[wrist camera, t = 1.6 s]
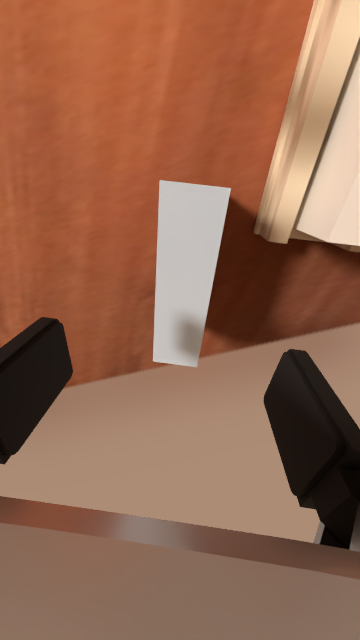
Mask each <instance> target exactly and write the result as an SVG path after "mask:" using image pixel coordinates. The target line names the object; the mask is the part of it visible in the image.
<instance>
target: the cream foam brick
mask: <svg viewBox="0 0 360 640" xmlns="http://www.w3.org/2000/svg"><path fill="white" fill-rule="evenodd" d="M293 228H295V229H297V230H300V231H302V232H304V233H307V234H309V235H312V236H314V237H316V238H319V239H321V240H323V241H326V242H331V243H340V244H348V245H357V246H360V37H359V40H358V43H357V46H356V49H355V51H354V54H353V57H352V60H351V63H350V66H349V68H348V71H347V74H346V77H345V80H344V83H343V85H342V88H341V91H340V94H339V97H338V100H337V103H336V105H335V108H334V111H333V114H332V117H331V120H330V122H329V125H328V128H327V131H326V134H325V137H324V139H323V142H322V145H321V148H320V151H319V154H318V157H317V159H316V162H315V165H314V168H313V171H312V174H311V176H310V179H309V182H308V185H307V188H306V191H305V193H304V196H303V199H302V202H301V205H300V208H299V211H298V213H297V216H296V219H295V222H294V225H293Z"/></svg>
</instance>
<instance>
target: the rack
mask: <svg viewBox="0 0 360 640" xmlns="http://www.w3.org/2000/svg"><path fill="white" fill-rule="evenodd" d="M359 37H360V0H314V3H313V7H312V10H311V14H310V18H309V22H308V26H307V29H306V33H305V37H304V41H303V45H302V48H301V52H300V56H299V60H298V64H297V67H296V71H295V75H294V79H293V83H292V86H291V90H290V94H289V98H288V102H287V105H286V109H285V113H284V117H283V121H282V124H281V128H280V132H279V136H278V140H277V143H276V147H275V151H274V155H273V159H272V162H271V166H270V170H269V174H268V178H267V181H266V185H265V189H264V193H263V197H262V201H261V204H260V208H259V212H258V216H257V220H256V223H255V227H254V231H253V232H254V233H255V234H259V235H260V236H262V237H263V238H264V239H265V240H267V241H268V242H276V243H284V244H287V242H288V239H289V238H294V239H302V240H311V241H319V242H326V241H323V240H321V239H319V238H316V237H314V236H312V235H309V234H307V233H304V232H302V231H300V230H297V229H295V228H293V225H294V222H295V219H296V216H297V213H298V211H299V208H300V205H301V202H302V199H303V196H304V193H305V191H306V188H307V185H308V182H309V179H310V176H311V174H312V171H313V168H314V165H315V162H316V159H317V157H318V154H319V151H320V148H321V145H322V142H323V139H324V137H325V134H326V131H327V128H328V125H329V122H330V120H331V117H332V114H333V111H334V108H335V105H336V103H337V100H338V97H339V94H340V91H341V88H342V85H343V83H344V80H345V77H346V74H347V71H348V68H349V66H350V63H351V60H352V57H353V54H354V51H355V49H356V46H357V43H358V40H359ZM328 243H330V244H333V245H335V246H338V247H340V248H342V249H345V250H347V251H352V252H360V246H357V245H348V244H340V243H331V242H328Z"/></svg>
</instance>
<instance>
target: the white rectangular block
mask: <svg viewBox="0 0 360 640" xmlns="http://www.w3.org/2000/svg"><path fill="white" fill-rule="evenodd" d="M230 191H231V188H224V187H215V186H206V185H197V184H189V183H180V182H171V181H162V180H160V186H159V213H158V240H157V266H156V293H155V320H154V346H153V361H155V362H162V363H170V364H177V365H185V366H192V367H197V364H198V359H199V353H200V348H201V343H202V338H203V332H204V327H205V322H206V317H207V311H208V306H209V301H210V296H211V290H212V285H213V280H214V275H215V269H216V264H217V259H218V254H219V248H220V243H221V238H222V233H223V227H224V222H225V217H226V212H227V206H228V201H229V196H230Z"/></svg>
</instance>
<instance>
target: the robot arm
mask: <svg viewBox="0 0 360 640" xmlns="http://www.w3.org/2000/svg"><path fill="white" fill-rule="evenodd" d="M72 373H73V369H72V364H71V359H70V355H69V350H68V346H67V341H66V337H65V332H64V328H63V324H62V323H60V322H59V320H57V319H53V318H45V317H42V318H40V319H38V320H37V321H36V322H34V323H33V324H32V325H30V326H29V327H28V328H26V329H25V330H24V331H22V332H21V333H20V334H18V335H17V336H16V337H15V338H13V339H12V340H11V341H9V342H8V343H7V344H5V345H4V346H3V347H1V348H0V464H5V463H6V462H7V460H8V459H9V458H10V456H11V455H14V454H16V452H18V451H19V449H20V448H21V446H22V445H23V444H24V442H25V441H26V439H27V438H28V437H29V435H30V434H31V432H32V431H33V429H34V428H35V427H36V426H37V424H38V423H39V421H40V420H41V419H42V417H43V416H44V414H45V413H46V412H47V410H48V409H49V407H50V406H51V405H52V403H53V402H54V400H55V399H56V398H57V396H58V395H59V393H60V392H61V391H62V389H63V388H64V386H65V385H66V384H67V382H68V381H69V379H70V378H71V376H72ZM264 405H265V408H266V411H267V414H268V418H269V421H270V424H271V428H272V431H273V434H274V437H275V440H276V444H277V447H278V450H279V453H280V456H281V460H282V463H283V466H284V470H285V473H286V476H287V479H288V483H289V486H290V489H291V491H292V493H293V494H294V495H295V496H297V499H298V502H299V505H300V507H304V508H311V509H316V510H317V513H318V516H319V518H320V522H319V526H318V529H317V532H316V536H315V539H314V543H308V542H302V541H297V540H291V539H285V538H279V537H272V536H266V535H258V534H253V533H246V532H239V531H233V530H227V529H220V528H213V527H207V526H200V525H194V524H187V523H181V522H174V521H167V520H160V519H154V518H146V517H140V516H133V515H126V514H120V513H113V512H106V511H99V510H93V509H86V508H79V507H72V506H65V505H58V504H51V503H44V502H37V501H30V500H23V499H16V498H8V497H2V496H0V640H360V429H359V427H358V426H357V424H356V423H355V422H354V420H353V419H352V417H351V416H350V414H349V413H348V411H347V410H346V409H345V407H344V406H343V404H342V403H341V401H340V400H339V398H338V397H337V395H336V394H335V392H334V391H333V389H332V388H331V387H330V385H329V384H328V382H327V381H326V379H325V378H324V376H323V375H322V373H321V372H320V371H319V369H318V368H317V366H316V365H315V364H314V362H313V360H312V359H311V357H310V356H309V354H308V353H307V352H306V351H301V350H294V349H289V350H288V351H287V352H284V353H283V355H282V357H281V359H280V362H279V364H278V366H277V368H276V370H275V373H274V375H273V377H272V379H271V382H270V384H269V386H268V388H267V391H266V393H265V395H264Z"/></svg>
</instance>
